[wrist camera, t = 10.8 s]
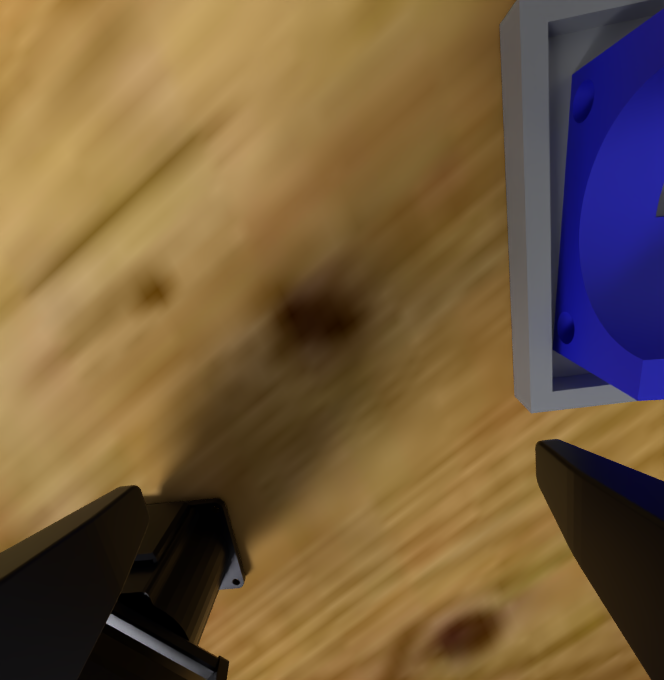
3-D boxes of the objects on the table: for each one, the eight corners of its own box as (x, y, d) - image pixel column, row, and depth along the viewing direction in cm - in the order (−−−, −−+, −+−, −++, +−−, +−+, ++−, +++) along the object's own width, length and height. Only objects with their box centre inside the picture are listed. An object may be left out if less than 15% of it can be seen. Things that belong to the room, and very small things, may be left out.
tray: (696, 373, 19) (734, 389, 18) (514, 395, 20) (531, 413, 18) (734, -27, 15) (789, -65, 13) (499, 24, 16) (519, -4, 14)
